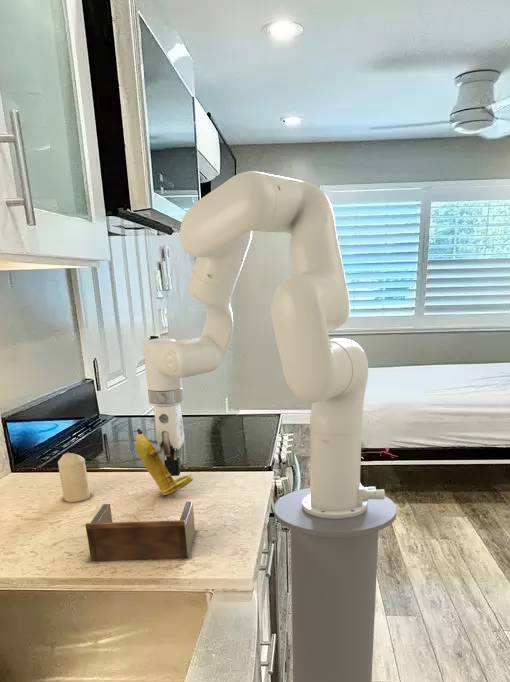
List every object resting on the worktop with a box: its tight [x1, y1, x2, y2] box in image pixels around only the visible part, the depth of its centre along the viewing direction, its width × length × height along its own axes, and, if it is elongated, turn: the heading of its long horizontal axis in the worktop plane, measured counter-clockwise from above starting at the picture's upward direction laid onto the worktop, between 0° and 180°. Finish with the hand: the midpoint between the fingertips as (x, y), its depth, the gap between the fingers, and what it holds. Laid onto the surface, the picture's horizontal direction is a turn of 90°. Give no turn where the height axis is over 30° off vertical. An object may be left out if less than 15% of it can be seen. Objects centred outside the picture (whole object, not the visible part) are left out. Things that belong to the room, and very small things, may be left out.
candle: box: [57, 452, 91, 503], centre depth 124 cm, size 6×6×10 cm
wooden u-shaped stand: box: [85, 501, 196, 562], centre depth 101 cm, size 16×11×7 cm
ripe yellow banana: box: [135, 428, 194, 496], centre depth 123 cm, size 12×8×15 cm
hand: (173, 474), depth 133 cm, fingers closed
